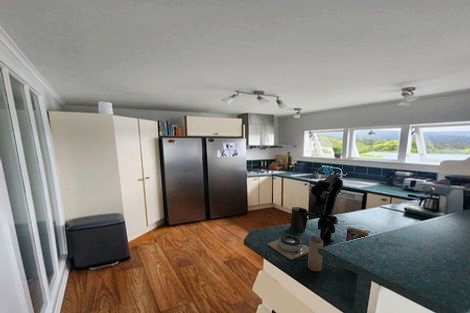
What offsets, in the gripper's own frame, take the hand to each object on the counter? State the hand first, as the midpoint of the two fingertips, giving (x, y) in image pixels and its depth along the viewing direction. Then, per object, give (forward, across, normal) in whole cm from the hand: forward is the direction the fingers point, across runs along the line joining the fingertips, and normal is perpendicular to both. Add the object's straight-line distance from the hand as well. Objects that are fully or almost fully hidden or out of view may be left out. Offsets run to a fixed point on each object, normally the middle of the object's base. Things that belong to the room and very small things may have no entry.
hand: (313, 232), depth 103 cm
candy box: (+4, +17, +18) cm, 26 cm away
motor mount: (+10, -12, +8) cm, 18 cm away
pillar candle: (-4, -18, +32) cm, 37 cm away
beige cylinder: (+15, +4, +1) cm, 15 cm away
